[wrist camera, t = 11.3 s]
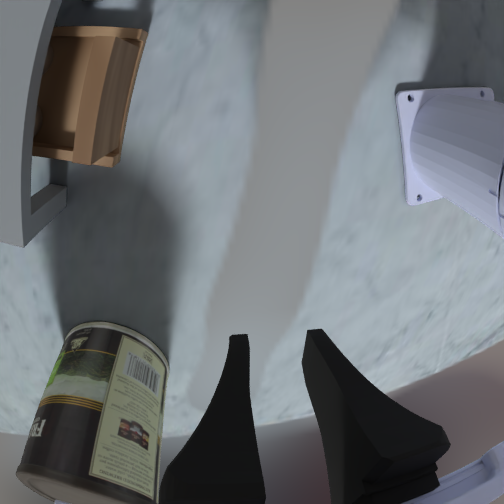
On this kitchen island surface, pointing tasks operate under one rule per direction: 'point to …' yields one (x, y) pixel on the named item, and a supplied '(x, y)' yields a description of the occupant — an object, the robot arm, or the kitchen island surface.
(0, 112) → the shelf
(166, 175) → the kitchen island surface
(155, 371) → the coffee can
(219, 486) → the robot arm
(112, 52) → the tray
